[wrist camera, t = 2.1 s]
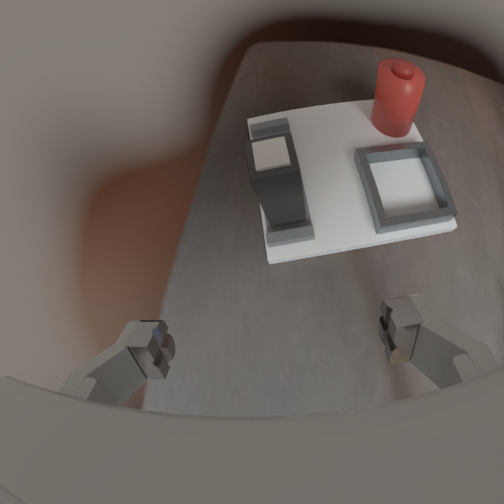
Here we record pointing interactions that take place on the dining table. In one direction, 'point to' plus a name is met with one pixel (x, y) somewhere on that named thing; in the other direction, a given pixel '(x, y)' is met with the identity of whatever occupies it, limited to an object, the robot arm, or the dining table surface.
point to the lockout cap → (396, 96)
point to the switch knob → (276, 178)
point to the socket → (434, 175)
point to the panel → (343, 182)
